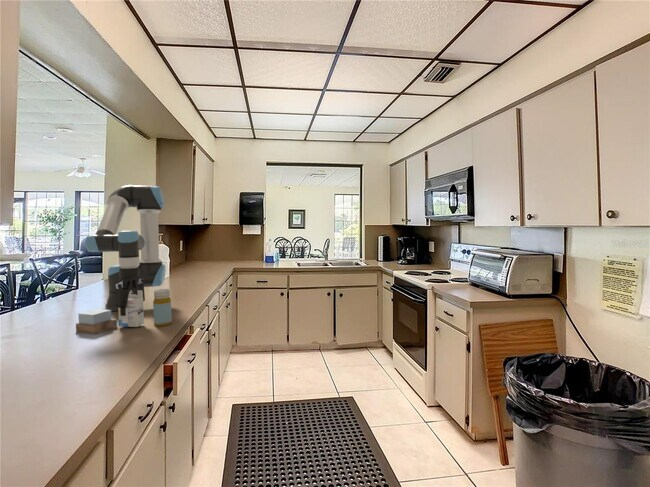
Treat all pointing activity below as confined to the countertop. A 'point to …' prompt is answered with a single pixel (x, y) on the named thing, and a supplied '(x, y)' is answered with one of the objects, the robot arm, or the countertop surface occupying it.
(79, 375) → the countertop surface
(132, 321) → the ink box
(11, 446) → the countertop surface
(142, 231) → the robot arm
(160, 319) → the bottle
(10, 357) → the countertop surface
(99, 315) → the light grey block
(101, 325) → the walnut block
